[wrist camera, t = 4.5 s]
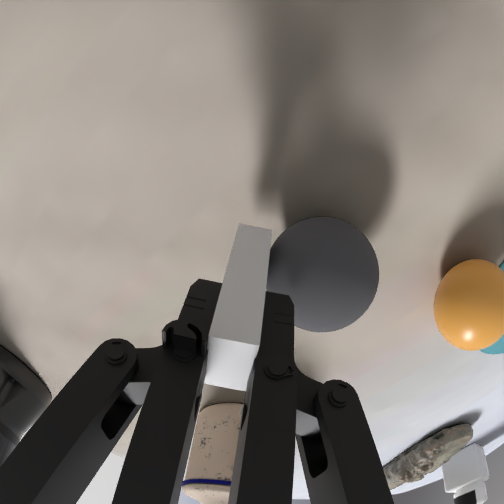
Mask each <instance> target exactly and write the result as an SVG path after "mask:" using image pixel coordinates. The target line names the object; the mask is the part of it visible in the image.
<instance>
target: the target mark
mask: <svg viewBox="0 0 504 504" xmlns="http://www.w3.org/2000/svg"><path fill="white" fill-rule="evenodd" d="M499 268H501V269H502V270H503V271H504V261H503V262H502V264H501V265H500V266H499ZM480 351H482V352H484V353H488V354H501V353H504V335H503V336H502V337H501V338H500V339H499V340H498V341H497V342H495V343H494V344H492V345H491V346H489V347H487V348H484V349H481V350H480Z"/></svg>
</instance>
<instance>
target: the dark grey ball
mask: <svg viewBox="0 0 504 504" xmlns="http://www.w3.org/2000/svg"><path fill="white" fill-rule="evenodd" d="M378 282H379V266H378V261H377V257H376V254H375V251H374V249H373V247H372V245H371V244H370V242H369V241H368V239H367V238H366V237H365V236H364V235H363V233H361V232H360V231H359V230H358V229H357V228H356V227H354V226H352V225H351V224H349V223H347V222H345V221H343V220H340V219H337V218H332V217H313V218H308V219H304V220H302V221H299V222H297V223H295V224H294V225H292V226H290V227H289V228H288V229H286V230H285V231H284V232H283V233H282V234H281V235H280V236H279V237H278V238H277V240H276V241H275V242H274V244H273V246H272V247H271V249H270V255H269V265H268V275H267V284H266V289H267V291H269V292H274V293H279V294H285V295H289V296H290V298H291V300H292V302H293V304H294V325H295V326H296V327H299V328H301V329H304V330H308V331H312V332H330V331H336V330H339V329H342V328H344V327H346V326H348V325H350V324H352V323H353V322H355V321H356V320H357V319H359V318H360V317H361V316H362V315H363V314H364V313H365V311H366V310H367V309H368V308H369V306H370V304H371V303H372V301H373V299H374V297H375V294H376V291H377V287H378Z"/></svg>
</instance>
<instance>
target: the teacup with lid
mask: <svg viewBox="0 0 504 504" xmlns="http://www.w3.org/2000/svg"><path fill="white" fill-rule="evenodd" d="M242 407H243V404H238V403H222V404H215V405H211V406H208V407H206V408H204V409H203V410H202V411H201V412H200V413H199V416H198V420H197V425H196V429H195V434H194V439H193V444H192V448H191V453H190V458H189V463H188V468H187V473H186V478H185V481H183V482H182V489H183V492H184V493H185V494H186V495H188V496H189V497H191V498H194V499H196V500H197V501H199V502H200V503H201V504H228V500H229V493H230V487H231V480H232V474H233V468H234V461H235V455H236V448H237V441H238V435H239V428H240V421H241V415H240V413H241V410H242Z"/></svg>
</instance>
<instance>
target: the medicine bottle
mask: <svg viewBox="0 0 504 504" xmlns="http://www.w3.org/2000/svg"><path fill="white" fill-rule="evenodd" d="M442 472H443V478H444V485H445V491H446V492H455V495H454V503H455V504H483V503H484V502H485V501H486V500H487V493H486V486H485V483H483V481H485V480H487V479H488V478H489V471H488V467H487V462H486V457H485V453H484V449H483V447H481V446H480V445H478V444H476V443H473V444H471V445H469V446H467V447H465V448H463V449H461V450H460V451H458V452H457V453H456V454H455V455H453V456H452V457H451V458H450V460H449V461H448V462H446V463H445V464H443V465H442Z"/></svg>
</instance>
